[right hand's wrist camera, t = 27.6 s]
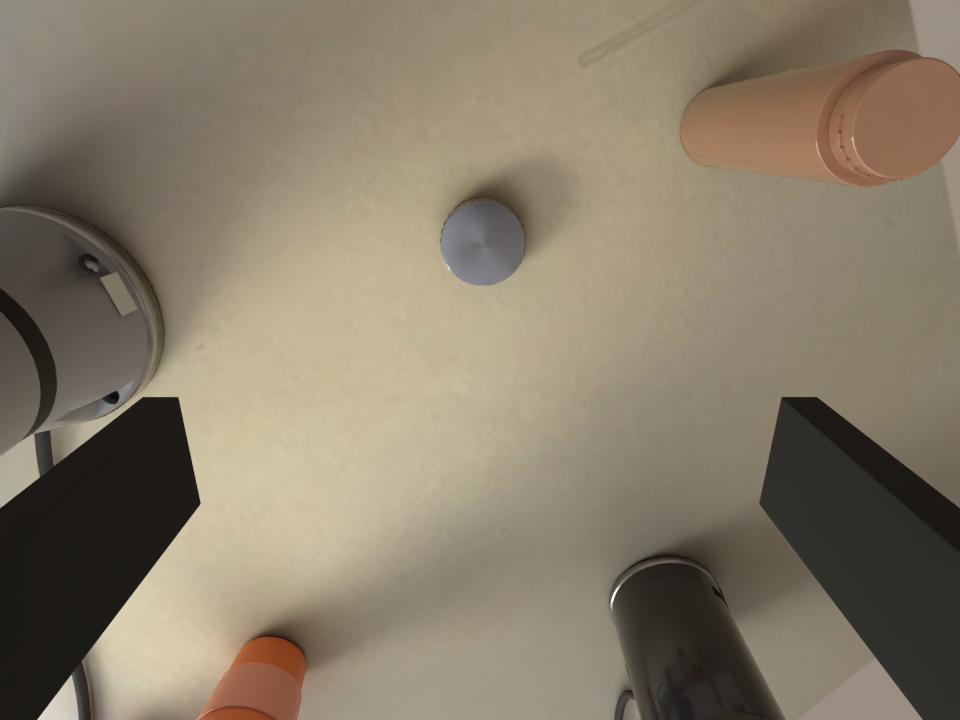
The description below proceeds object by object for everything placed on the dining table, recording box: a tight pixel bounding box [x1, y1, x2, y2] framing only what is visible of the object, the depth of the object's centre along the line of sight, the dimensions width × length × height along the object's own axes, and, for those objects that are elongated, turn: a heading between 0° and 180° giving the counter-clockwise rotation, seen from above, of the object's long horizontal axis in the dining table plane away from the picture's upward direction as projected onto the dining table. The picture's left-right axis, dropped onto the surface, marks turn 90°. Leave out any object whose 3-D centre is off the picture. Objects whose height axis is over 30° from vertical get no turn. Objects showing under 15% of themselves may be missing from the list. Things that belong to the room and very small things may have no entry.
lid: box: [440, 197, 526, 286], centre depth 38 cm, size 6×6×2 cm
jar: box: [680, 50, 960, 187], centre depth 28 cm, size 5×5×18 cm
